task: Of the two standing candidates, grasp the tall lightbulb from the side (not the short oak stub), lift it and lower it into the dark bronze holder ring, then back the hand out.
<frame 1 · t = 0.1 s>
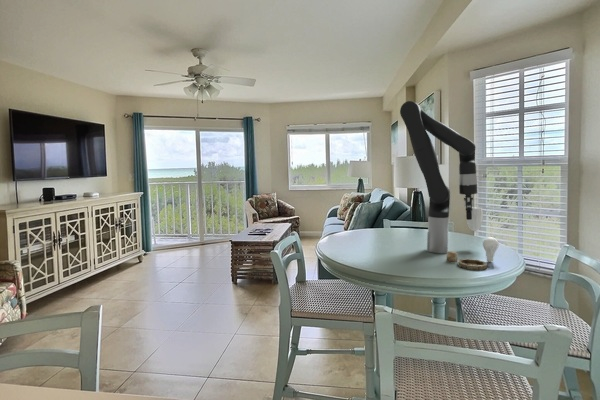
hand: (469, 218, 162), 17 cm above the table, tool pointing down, fingers open, 8 cm apart
cup: (473, 249, 174), on the table
holder ring: (472, 266, 144), on the table
oak stub: (451, 261, 152), on the table
lightbulb: (489, 262, 150), on the table
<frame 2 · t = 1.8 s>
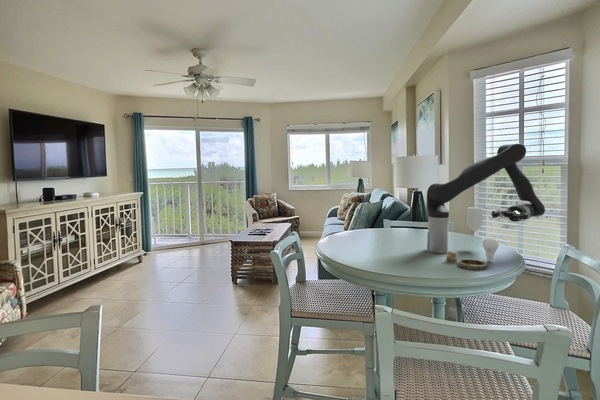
hand: (503, 216, 154), 19 cm above the table, tool horizontal, fingers open, 8 cm apart
nothing on the table moved.
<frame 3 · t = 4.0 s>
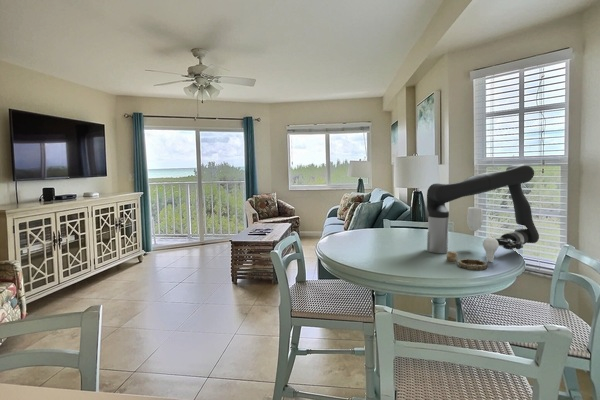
hand: (496, 245, 153), 7 cm above the table, tool horizontal, fingers open, 8 cm apart
nothing on the table moved.
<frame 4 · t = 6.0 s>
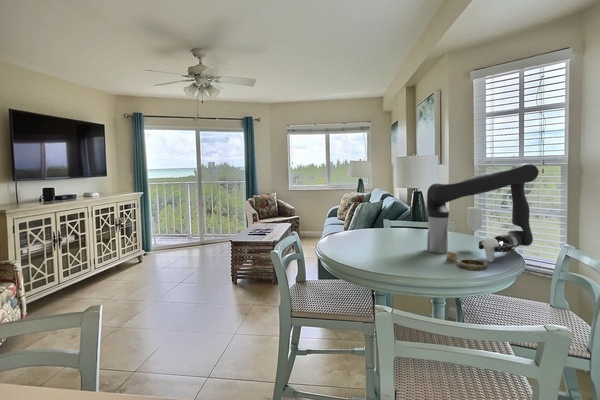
hand: (487, 248, 147), 7 cm above the table, tool horizontal, fingers closed on lightbulb, 5 cm apart
lightbulb: (489, 262, 150), on the table, touching gripper
everything else where it was.
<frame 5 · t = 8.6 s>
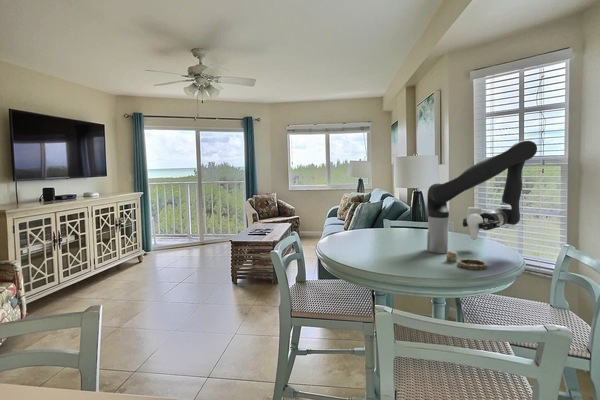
hand: (471, 225, 141), 18 cm above the table, tool horizontal, fingers closed on lightbulb, 5 cm apart
lightbulb: (474, 240, 143), point 11 cm above the table, touching gripper
everything else where it was.
when the fingers open (8 cm above the table, at t = 11.5 s): lightbulb drops 1 cm, resting on holder ring.
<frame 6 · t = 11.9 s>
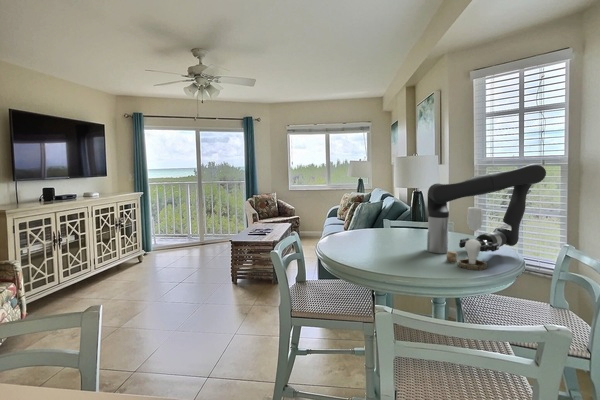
hand: (470, 247, 142), 9 cm above the table, tool horizontal, fingers open, 8 cm apart
lightbulb: (471, 265, 144), resting on holder ring
everything else where it was.
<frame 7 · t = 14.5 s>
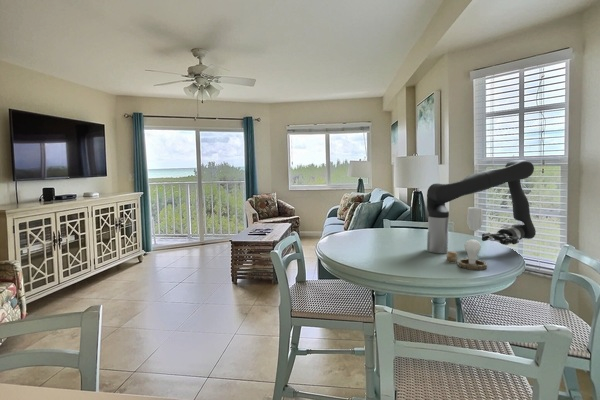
hand: (492, 240, 154), 8 cm above the table, tool horizontal, fingers open, 8 cm apart
nothing on the table moved.
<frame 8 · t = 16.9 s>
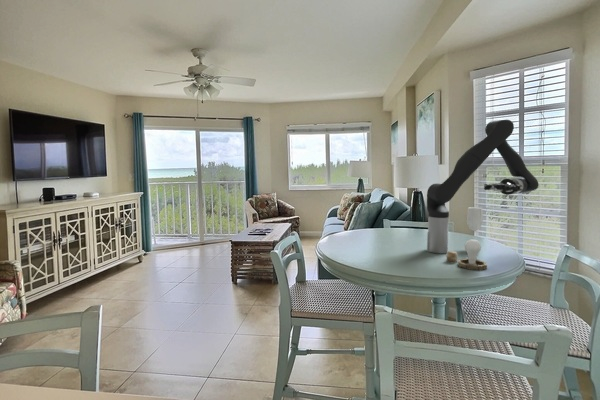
hand: (495, 188, 151), 32 cm above the table, tool horizontal, fingers open, 8 cm apart
nothing on the table moved.
at the end: lightbulb 0.2 cm from the holder ring (horizontally); the gripper is holding nothing; oak stub moved 0.1 cm from its start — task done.
